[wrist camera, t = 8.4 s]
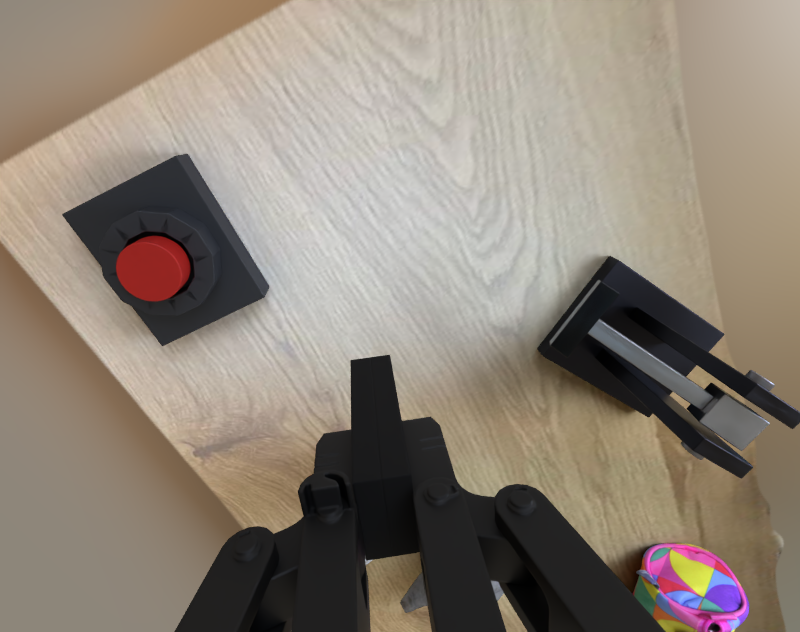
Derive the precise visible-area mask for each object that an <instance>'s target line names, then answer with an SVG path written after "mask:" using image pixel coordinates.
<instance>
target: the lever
mask: <svg viewBox="0 0 800 632" xmlns="http://www.w3.org/2000/svg"><path fill="white" fill-rule="evenodd" d="M618 295H619V292H617V291H616V290H614V289H612V288H611V287H609V286H608V285H606V284H605V283H603V282H602V281H600V280H598V281H597V282H596V283H595V284H594V286H593V287H592V288H591V290H590V291H589V292H588V293H587V295H586V296H585V297H584V298H583V300H582V301H581V302H580V304H579V305H578V306H577V307H576V309H575V310H574V311H573V312H572V314H571V315H570V316H569V318H568V319H567V320H566V321H565V323H564V324H563V325H562V326H561V328H560V329H559V330H558V332H557V333H556V334H555V335H554V337H553V338H552V339H551V340H550V346H551V347H553V348H554V349H555V350H557V351H558V352H560V353H561V354H563V355H564V356H565V357H567V358H568V357H569V356H570V354H571V353H572V352H573V351H574V350H575V348H576V347H577V346H578V345H579V343H580V342H581V341H582V340H583V338H584V337H585V336H586V335H587V333H588V334H589V335H591V336H592V337H594V338H595V339H597V340H598V341H600V342H601V343H602V344H604V345H605V346H607V347H608V348H610V349H611V350H613V351H614V352H616V353H617V354H619V355H620V356H622V357H623V358H624V359H626V360H627V361H629V362H630V363H632V364H633V365H635V366H636V367H638V368H639V369H641V370H642V371H644V372H645V373H647V374H648V375H649V376H651V377H652V378H654V379H655V380H657V381H658V382H660V383H661V384H663V385H664V386H666V387H667V388H669V389H670V390H671V391H673V392H674V393H676V394H677V395H679V396H680V397H682V398H683V399H685V400H686V401H688V402H689V403H691V404H690V405H689V407H688V408H687V410H688V411H689V412H690V413H691V414H692V415H693V416H694V417H695V418H696V419H697V420H698V421H699V422H700V423H701V424H703V425H704V426H706V427H707V428H708V429H710V430H711V431H713V432H714V433H716V434H717V435H719V436H720V437H722V438H723V439H724V440H726V441H727V442H729V443H730V444H732V445H733V446H735V447H736V448H738V449H739V450H741V451H742V450H743V449H744V448H745V447H746V446H747V445H748V444H750V443H751V442H752V441H753V440H754V439H755V438H756V437H757V436H758V434H760V433H761V432H762V430H764V429H765V428H766V426H768V425H769V422H768V421H766V420H765V419H764V418H762V417H761V416H760V415H758V414H757V413H756V412H754V411H753V410H752V409H750V408H749V407H747V406H746V405H744V404H743V403H741V402H740V401H738V400H737V399H735V398H734V397H732V396H731V395H729V394H728V393H726V392H725V391H723V390H722V389H720V388H719V387H717V386H716V385H714V384H713V383H710V384H709V385H708V386H707V387H706V388H705V389H703V388H702V387H700V386H699V385H697V384H696V383H694V382H693V381H691V380H690V379H688V378H687V377H685V376H684V375H682V374H681V373H679V372H678V371H676V370H675V369H673V368H672V367H670V366H669V365H667V364H666V363H664V362H663V361H662V360H660V359H659V358H657V357H656V356H654V355H653V354H651V353H650V352H648V351H647V350H645V349H644V348H642V347H641V346H639V345H638V344H636V343H635V342H633V341H632V340H630V339H629V338H627V337H626V336H624V335H623V334H621V333H620V332H618V331H617V330H615V329H614V328H613V327H611V326H610V325H608V324H607V323H605V322H604V321H602V320H601V319H600V317H601V316H602V315H603V314H604V312H605V311H606V310H607V309H608V308H609V306H610V305H611V304H612V303H613V301H614V300H615V299H616V298H617V296H618Z"/></svg>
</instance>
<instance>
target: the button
mask: <svg viewBox="0 0 800 632" xmlns="http://www.w3.org/2000/svg"><path fill="white" fill-rule="evenodd" d="M116 272H117V276H118V279H119V281H120V283H121V284H122V286H123V287H124V288H125V289H126V290H127V291H128V292H129V293H131V294H132V295H134V296H135V297H137V298H139V299H142V300H146V301H162V300H166V299H168V298H170V297H172V296H173V295H174V294H175V293H176V292H177V291H178V290H179V289H180V288H181V287H182V286H183V285H184V284H185V283H186V282H187V280H188V278H189V275H190V262H189V259H188V256H187V254H186V253H185V251H184V250H183V249H182V248H181V247H180V246H179V245H178V244H177V243H176V242H174V241H172V240H170V239H168V238H165V237H162V236H147V237H144V238H141V239H139V240H138V241H136V242H134V243H132V244H130V245H129V246H127V247H126V248H124V249H123V250H122V251H121V253H120V254H119V256H118V258H117V262H116Z"/></svg>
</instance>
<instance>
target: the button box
mask: <svg viewBox="0 0 800 632" xmlns="http://www.w3.org/2000/svg"><path fill="white" fill-rule="evenodd" d="M62 215H63V217H64V218H65V219H66V221H67V222H68V223H69V224H70V226H71V227H72V228H73V230H74V231H75V232H76V234H77V235H78V236H79V238H80V239H81V240H82V242H83V243H84V244H85V245H86V247H87V248H88V249H89V251H90V252H91V253H92V255H93V256H94V257H95V259H96V260H97V261H98V262H99V264H100V265H101V266H102V272H103V276H104V278H105V280H106V281H107V282H108V283H109V285H110V286H111V287H112V289H113V290H114V291H115V293H116V294H117V295H118V296H119V298H120V299H121V300H122V301H123V302H125V303H127V304H129V305H131V306H132V307H133V308H134V310H135V311H136V312H137V314H138V315H139V316H140V318H141V319H142V320H143V321H144V323H145V324H146V325H147V327H148V328H149V329H150V331H151V332H152V333H153V335H154V336H155V337H156V338H157V340H158V341H159V342H160V344H161V345H162V346H164V345H166V344H168V343H170V342H172V341H174V340H176V339H178V338H181V337H183V336H185V335H187V334H189V333H191V332H193V331H195V330H197V329H199V328H201V327H203V326H205V325H208V324H210V323H212V322H214V321H216V320H218V319H220V318H222V317H224V316H226V315H228V314H230V313H233V312H235V311H237V310H239V309H241V308H243V307H245V306H247V305H249V304H251V303H253V302H255V301H258V300H260V299H262V298H264V297H265V295H266V293H267V291H268V289H269V285H268V283H267V282H266V280H265V279H264V277H263V275H262V274H261V272H260V270H259V269H258V267H257V266H256V264H255V262H254V261H253V259H252V257H251V256H250V254H249V253H248V251H247V249H246V248H245V246H244V244H243V243H242V241H241V240H240V238H239V236H238V235H237V233H236V231H235V230H234V228H233V227H232V225H231V223H230V222H229V220H228V218H227V217H226V215H225V214H224V212H223V210H222V209H221V207H220V205H219V204H218V202H217V201H216V199H215V197H214V196H213V194H212V192H211V191H210V189H209V188H208V186H207V184H206V183H205V181H204V179H203V178H202V176H201V175H200V173H199V171H198V170H197V168H196V166H195V165H194V163H193V162H192V160H191V158H190V157H189V155H188V154H183V155H178V156H174V157H173V158H171V159H169V160H167V161H165V162H163V163H161V164H159V165H157V166H155V167H153V168H151V169H149V170H147V171H145V172H143V173H141V174H139V175H138V176H136V177H134V178H132V179H130V180H128V181H126V182H124V183H122V184H120V185H118V186H116V187H114V188H112V189H110V190H108V191H106V192H104V193H103V194H101V195H99V196H97V197H95V198H93V199H91V200H89V201H87V202H85V203H83V204H81V205H79V206H77V207H75V208H73V209H71V210H69V211H67V212H66V213H64V214H62ZM147 236H162V237H165V238H168V239H170V240H172V241H174V242H176V243H177V244H178V245H179V246H180V247H181V248H182V249H183V250H184V251H185V253H186V254H187V256H188V259H189V262H190V275H189V278H188V280H187V282H186V283H185V284H184V285H183V286H182V287H181V288H180V289H179V290H178V291H177V292H176V293H175V294H174V295H173V296H172V297H170V298H168V299H166V300H162V301H146V300H142V299H139V298H137V297H135V296H134V295H132V294H131V293H129V292H128V291H127V290H126V289H125V288H124V287H123V286H122V284H121V283H120V281H119V279H118V276H117V272H116V262H117V258H118V256H119V254H120V253H121V251H122V250H123V249H124V248H126V247H127V246H129V245H130V244H132V243H134V242H136V241H138V240H139V239H141V238H144V237H147Z"/></svg>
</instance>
